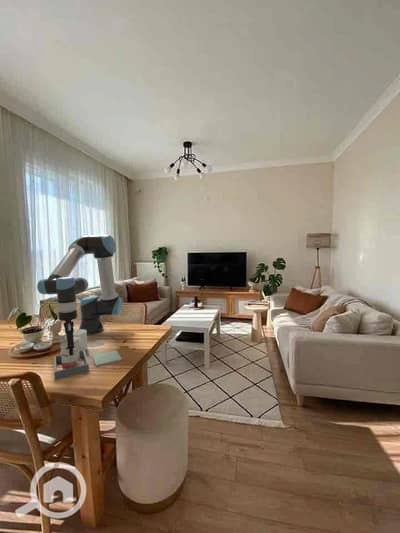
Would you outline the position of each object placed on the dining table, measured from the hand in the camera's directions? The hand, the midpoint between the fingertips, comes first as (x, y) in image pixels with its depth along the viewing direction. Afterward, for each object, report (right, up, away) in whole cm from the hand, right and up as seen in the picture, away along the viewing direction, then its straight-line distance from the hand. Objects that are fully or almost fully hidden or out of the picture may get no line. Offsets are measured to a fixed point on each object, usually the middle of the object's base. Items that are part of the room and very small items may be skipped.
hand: (71, 357), depth 117 cm
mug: (-5, -4, +18) cm, 19 cm away
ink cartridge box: (0, -4, 0) cm, 4 cm away
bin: (0, -5, 0) cm, 5 cm away
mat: (+14, -4, +8) cm, 17 cm away
